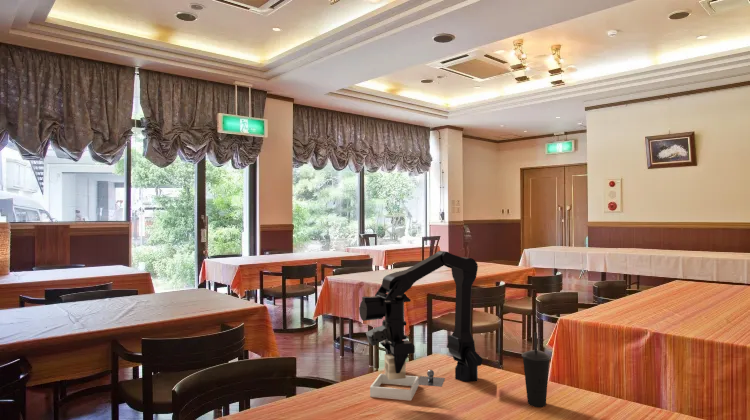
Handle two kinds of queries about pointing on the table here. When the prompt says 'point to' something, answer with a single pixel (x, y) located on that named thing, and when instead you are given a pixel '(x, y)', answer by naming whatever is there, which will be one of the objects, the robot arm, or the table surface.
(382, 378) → the bin
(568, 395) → the table surface
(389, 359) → the socket block
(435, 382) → the stud plate
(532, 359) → the drinking cup
